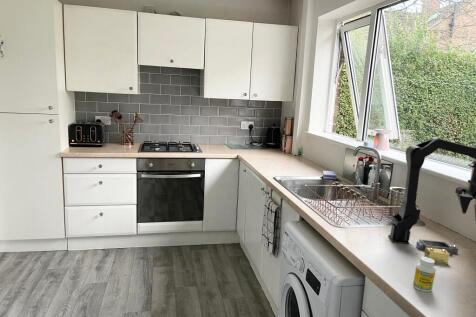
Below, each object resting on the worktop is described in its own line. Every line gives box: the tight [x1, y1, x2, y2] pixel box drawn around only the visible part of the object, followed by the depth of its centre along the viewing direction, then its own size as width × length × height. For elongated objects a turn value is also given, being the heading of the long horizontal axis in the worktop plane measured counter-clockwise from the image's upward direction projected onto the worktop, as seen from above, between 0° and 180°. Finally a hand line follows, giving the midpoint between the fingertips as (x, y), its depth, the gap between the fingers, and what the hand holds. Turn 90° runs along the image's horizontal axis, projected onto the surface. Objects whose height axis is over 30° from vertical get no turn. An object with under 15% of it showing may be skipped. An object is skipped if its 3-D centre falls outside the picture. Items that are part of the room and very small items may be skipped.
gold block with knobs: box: [423, 248, 450, 265], centre depth 134 cm, size 7×4×5 cm, turn 86°
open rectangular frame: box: [415, 238, 459, 256], centre depth 143 cm, size 15×6×3 cm, turn 86°
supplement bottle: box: [412, 256, 436, 293], centre depth 112 cm, size 5×5×10 cm
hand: (470, 217), depth 144 cm, fingers open, 9 cm apart
